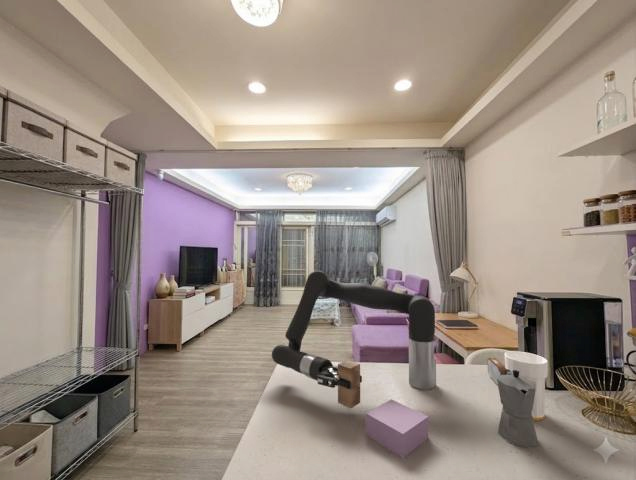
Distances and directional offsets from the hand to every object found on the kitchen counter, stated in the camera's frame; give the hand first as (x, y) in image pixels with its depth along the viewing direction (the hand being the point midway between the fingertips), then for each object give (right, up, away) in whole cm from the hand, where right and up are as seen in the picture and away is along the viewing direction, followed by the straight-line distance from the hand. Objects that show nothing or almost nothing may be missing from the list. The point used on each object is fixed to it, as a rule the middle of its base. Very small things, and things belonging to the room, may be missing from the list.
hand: (355, 382), depth 90 cm
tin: (+58, -12, +24) cm, 64 cm away
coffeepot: (+43, -10, -9) cm, 46 cm away
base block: (+10, -10, -10) cm, 17 cm away
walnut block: (-2, -7, +1) cm, 7 cm away
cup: (+54, -11, +2) cm, 56 cm away
